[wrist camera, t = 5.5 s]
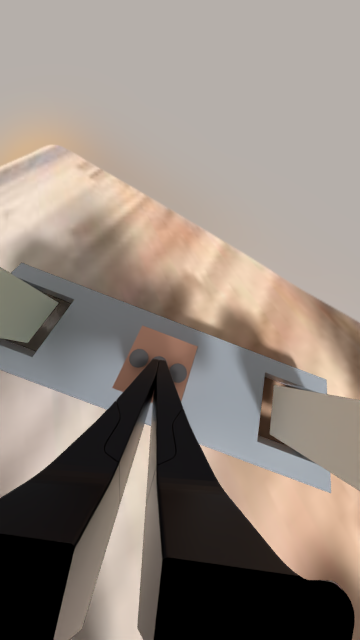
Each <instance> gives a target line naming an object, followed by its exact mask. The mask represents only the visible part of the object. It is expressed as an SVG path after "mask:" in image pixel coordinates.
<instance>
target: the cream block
mask: <svg viewBox="0 0 360 640" xmlns="http://www.w3.org/2000/svg"><path fill="white" fill-rule="evenodd" d="M270 435H272V436H274V437H275V438H277V439H278V440H280V441H281V442H283V443H285V444H286V445H288V446H289V447H291V448H293V449H294V450H296V451H297V452H299V453H300V454H302V455H304V456H305V457H307V458H308V459H310V460H311V461H313V462H315V463H316V464H318V465H319V466H321V467H323V468H324V469H326V470H327V471H329V472H330V473H332V474H334V475H335V476H337V477H338V478H340V479H341V480H343V481H345V482H346V483H348V484H349V485H351V486H353V487H354V488H356V489H357V490H359V491H360V400H357V399H351V398H345V397H339V396H334V395H328V394H322V393H317V392H311V391H305V390H300V389H294V388H288V387H282V386H277V385H274V390H273V402H272V413H271V424H270Z"/></svg>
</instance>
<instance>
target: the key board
mask: <svg viewBox="0 0 360 640" xmlns="http://www.w3.org/2000/svg"><path fill="white" fill-rule="evenodd" d="M11 274H12V275H14V276H16V277H17V278H19V279H20V280H22V281H24V282H25V283H27V284H29V285H30V286H32V287H34V288H35V289H37V290H38V291H41V292H44V293H46V294H49V295H51V296H54V297H57V298H59V299H62V300H65V301H67V302H70V303H72V304H71V305H70V306H69V308H68V309H67V310H66V312H65V313H64V315H63V316H62V317H61V319H60V320H59V321H58V323H57V324H56V325H55V327H54V328H53V330H52V331H51V332H50V334H49V335H48V336H47V338H46V339H45V341H44V342H43V343H42V345H41V346H40V347H39V349H38V350H37V351H33V350H31V349H28V348H25V347H23V346H20V345H17V344H15V343H12V342H9V341H7V340H4V339H1V338H0V370H2V371H5V372H7V373H10V374H13V375H15V376H18V377H21V378H24V379H26V380H29V381H32V382H34V383H37V384H40V385H42V386H45V387H48V388H50V389H53V390H56V391H58V392H61V393H64V394H66V395H69V396H72V397H74V398H77V399H80V400H82V401H85V402H88V403H90V404H93V405H96V406H99V407H101V408H104V409H108V408H109V407H110V406H111V405H112V404H113V403H114V402H115V401H116V400H117V398H118V397H119V396H120V395H121V394H122V393H123V392H122V391H119V390H116V389H114V388H112V387H113V385H114V383H115V381H116V379H117V377H118V375H119V373H120V370H121V368H122V366H123V364H124V362H125V360H126V358H127V356H128V354H129V352H130V350H131V348H132V346H133V343H134V341H135V339H136V337H137V335H138V333H139V331H140V329H141V327H142V325H143V326H145V327H148V328H151V329H153V330H156V331H158V332H161V333H164V334H166V335H169V336H172V337H174V338H177V339H179V340H182V341H185V342H187V343H190V344H192V345H195V346H198V347H197V351H196V354H195V357H194V360H193V364H192V367H191V370H190V374H189V377H188V380H187V383H186V387H185V390H184V393H183V397H182V400H181V403H182V406H183V409H184V411H185V414H186V416H187V419H188V421H189V424H190V426H191V428H192V431H193V433H194V435H195V437H196V439H197V441H198V443H199V444H200V445H203V446H206V447H208V448H211V449H214V450H216V451H219V452H222V453H224V454H227V455H230V456H232V457H235V458H238V459H240V460H243V461H246V462H249V463H251V464H254V465H257V466H259V467H262V468H265V469H267V470H270V471H273V472H275V473H278V474H281V475H283V476H286V477H289V478H291V479H294V480H297V481H299V482H302V483H305V484H307V485H310V486H313V487H315V488H318V489H321V490H323V491H326V492H329V493H331V480H330V472H329V471H327V470H326V469H324V468H323V467H321V466H319V465H318V464H316V463H315V462H313V461H311V460H310V459H308V458H307V457H305V456H304V455H302V454H300V453H299V452H297V451H296V450H294V449H293V448H291V447H288V446H286V445H283V444H280V443H278V442H275V441H272V440H270V439H267V438H264V437H262V436H259V435H258V430H259V421H260V412H261V403H262V395H263V386H264V377H266V378H269V379H271V380H274V381H277V382H279V383H282V384H284V385H287V386H290V387H292V388H295V389H300V390H305V391H311V392H317V393H322V394H327V383H326V379H323V378H320V377H318V376H315V375H313V374H310V373H307V372H305V371H302V370H300V369H297V368H294V367H292V366H289V365H287V364H284V363H281V362H279V361H276V360H274V359H271V358H268V357H266V356H263V355H261V354H258V353H255V352H253V351H250V350H247V349H245V348H242V347H240V346H237V345H234V344H232V343H229V342H227V341H224V340H221V339H219V338H216V337H214V336H211V335H208V334H206V333H203V332H201V331H198V330H195V329H193V328H190V327H188V326H185V325H182V324H180V323H177V322H175V321H172V320H169V319H167V318H164V317H162V316H159V315H156V314H154V313H151V312H149V311H146V310H143V309H141V308H138V307H136V306H133V305H130V304H128V303H125V302H122V301H120V300H117V299H115V298H112V297H109V296H107V295H104V294H102V293H99V292H96V291H94V290H91V289H89V288H86V287H83V286H81V285H78V284H76V283H73V282H70V281H68V280H65V279H63V278H60V277H57V276H55V275H52V274H50V273H47V272H44V271H42V270H39V269H37V268H34V267H31V266H29V265H26V264H24V263H21V264H20V265H19V266H18V267H17V268H16V269H15V270H14V271H13V272H12V273H11ZM152 404H153V403H151V404H150V407H149V411H148V414H147V417H146V420H145V424H147V425H149V426H151V419H152Z"/></svg>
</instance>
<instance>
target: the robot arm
mask: <svg viewBox="0 0 360 640" xmlns="http://www.w3.org/2000/svg"><path fill="white" fill-rule="evenodd" d="M153 393H154V394H153ZM152 397H153V404H152V419H151V434H150V449H149V464H148V479H147V493H146V508H145V523H144V538H143V553H142V568H141V582H140V597H139V612H138V626H137V628H138V630H139V632H140V634H141V636H142V638H143V640H352V635H353V629H354V610H353V607H352V604H351V601H350V599H349V597H348V596H347V594H346V593H345V592H344V591H343V589H342V588H341V587H340V586H339V585H338V584H337V583H336V582H334V581H328V580H306V579H304V578H302V577H301V576H299V575H298V574H296V573H295V572H293V571H292V570H291V569H290V568H289V567H288V566H287V565H286V564H285V563H284V562H283V561H282V560H281V559H280V558H279V557H278V556H277V555H276V553H275V552H274V551H273V550H272V549H271V547H270V546H269V545H268V544H267V542H266V541H265V540H264V539H263V538H262V536H261V535H260V534H259V533H258V532H257V530H256V529H255V528H254V527H253V525H252V524H251V523H250V522H249V521H248V519H247V518H246V517H245V516H244V515H243V513H242V512H241V511H240V510H239V508H238V507H237V506H236V505H235V504H234V502H233V501H232V500H231V499H230V498H229V496H228V495H227V494H226V492H225V491H224V490H223V488H222V487H221V485H220V484H219V482H218V480H217V479H216V477H215V475H214V473H213V471H212V469H211V467H210V465H209V463H208V461H207V459H206V457H205V455H204V453H203V451H202V449H201V447H200V445H199V443H198V441H197V439H196V437H195V435H194V433H193V431H192V428H191V426H190V424H189V421H188V419H187V416H186V414H185V411H184V409H183V406H182V403H181V400H180V398H179V395H178V392H177V389H176V387H175V384H174V381H173V379H172V376H171V373H170V370H169V368H168V365H167V362H166V361H165V360H159V359H152V360H151V361H150V363H149V364H148V365H147V366H146V367H145V368H144V369H143V370H142V372H141V373H140V374H139V375H138V376H137V377H136V378H135V379H134V380H133V382H132V383H131V384H130V385H129V386H128V387H127V388H126V389H125V391H124V392H123V393H122V394H121V395H120V396H119V397H118V398H117V400H116V401H115V402H114V403H113V404H112V405H111V406H110V407H109V408H108V409H107V410H106V412H105V413H104V414H103V415H102V416H101V417H100V418H99V419H98V420H97V421H96V422H95V423H94V424H93V425H92V426H91V427H90V428H88V429H87V430H86V431H85V432H84V433H83V434H82V435H81V436H80V437H79V438H78V439H77V440H76V441H75V442H73V443H72V444H71V445H70V446H69V447H68V448H67V449H66V450H65V451H64V452H63V453H62V454H61V455H60V456H58V457H57V458H56V459H55V460H54V461H53V462H52V463H51V464H50V465H48V466H47V467H46V468H45V469H44V470H42V471H41V472H40V473H38V474H37V475H36V476H34V477H33V478H31V479H30V480H28V481H27V482H25V483H24V484H22V485H20V486H19V487H17V488H16V489H14V490H12V491H11V492H9V493H8V494H6V495H4V496H3V497H1V498H0V640H70V639H71V638H72V637H73V636H75V635H76V634H77V633H78V632H79V631H80V630H82V627H83V624H84V621H85V617H86V614H87V611H88V607H89V604H90V601H91V598H92V594H93V591H94V588H95V584H96V581H97V578H98V575H99V571H100V568H101V565H102V561H103V558H104V555H105V552H106V548H107V545H108V542H109V539H110V535H111V532H112V529H113V525H114V522H115V519H116V516H117V512H118V509H119V504H120V502H121V499H122V496H123V493H124V489H125V486H126V483H127V479H128V476H129V473H130V470H131V466H132V463H133V460H134V456H135V453H136V450H137V447H138V443H139V440H140V437H141V433H142V430H143V427H144V424H145V420H146V417H147V414H148V411H149V407H150V404H151V401H152Z"/></svg>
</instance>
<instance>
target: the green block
mask: <svg viewBox="0 0 360 640" xmlns="http://www.w3.org/2000/svg"><path fill="white" fill-rule="evenodd" d="M57 305H58V302H57V301H55V300H53V299H52V298H50V297H48V296H47V295H45V294H43V293H42V292H40V291H38V290H37V289H35V288H34V287H32V286H30V285H29V284H27V283H25V282H24V281H22V280H20V279H19V278H17V277H16V276H14V275H12V274H11V273H9V272H7V271H6V270H4V269H2V268H1V267H0V338H2V339H8V340H14V341H20V342H26V343H28V342H29V341H30V339H31V338H32V337H33V336H34V334H35V333H36V332H37V330H38V329H39V328H40V327H41V325H42V324H43V323H44V321H45V320H46V319H47V317H48V316H49V315H50V314H51V312H52V311H53V310H54V308H55V307H56V306H57Z"/></svg>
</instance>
